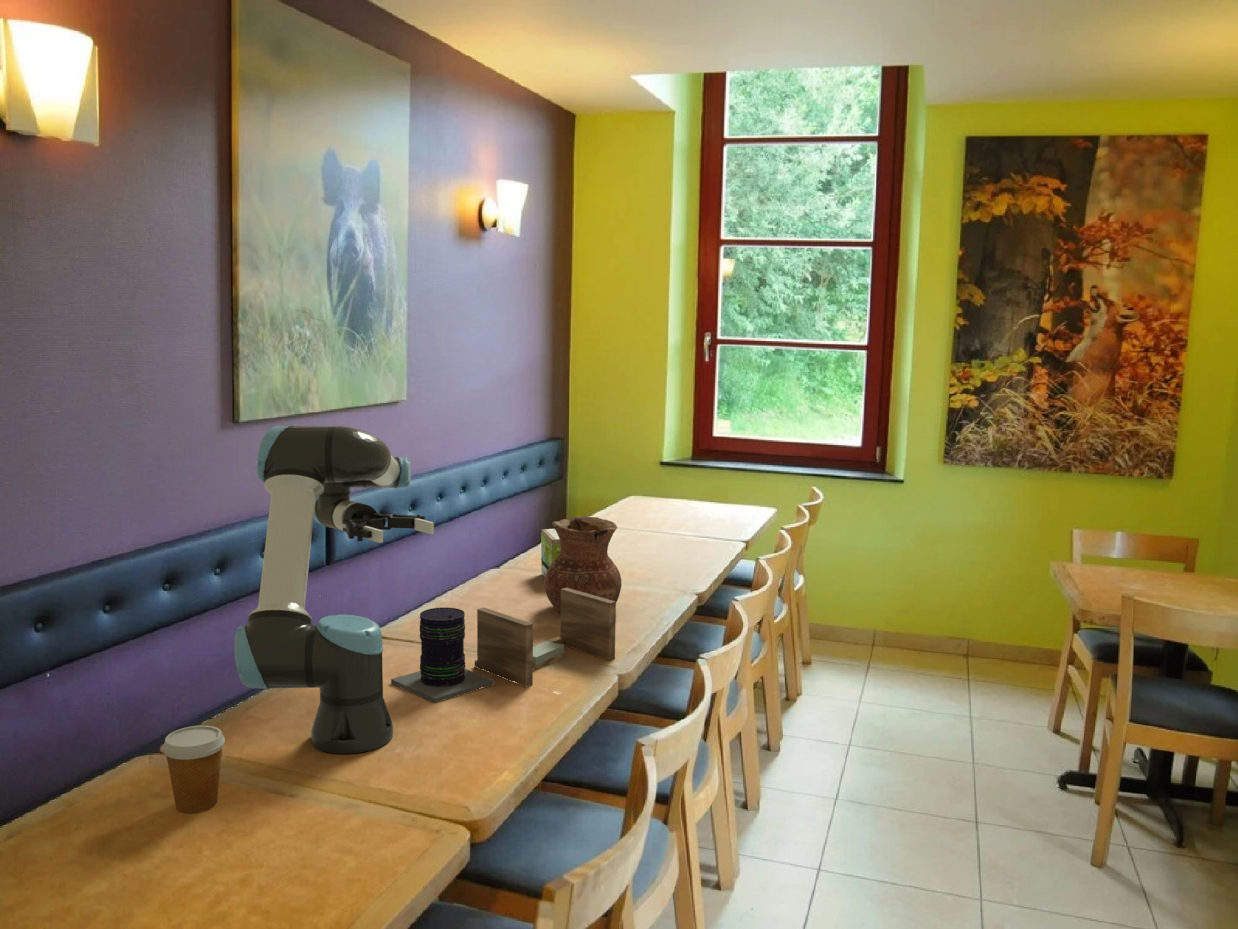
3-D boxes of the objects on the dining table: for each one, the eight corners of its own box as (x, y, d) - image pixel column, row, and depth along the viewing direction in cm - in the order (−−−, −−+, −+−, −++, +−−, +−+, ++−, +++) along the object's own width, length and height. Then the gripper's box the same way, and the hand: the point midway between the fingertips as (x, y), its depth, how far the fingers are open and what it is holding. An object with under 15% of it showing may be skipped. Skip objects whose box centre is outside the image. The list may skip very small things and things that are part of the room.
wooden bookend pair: (525, 687, 227) (526, 625, 225) (474, 667, 240) (474, 608, 238) (614, 658, 247) (615, 601, 245) (563, 641, 260) (564, 586, 258)
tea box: (540, 574, 325) (540, 528, 323) (571, 572, 328) (571, 526, 326) (551, 586, 311) (551, 538, 309) (583, 584, 314) (584, 536, 312)
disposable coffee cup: (205, 822, 165) (202, 750, 164) (152, 815, 167) (149, 744, 166) (238, 795, 175) (236, 727, 173) (188, 789, 177) (185, 722, 175)
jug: (632, 618, 280) (634, 527, 276) (558, 625, 272) (559, 532, 269) (603, 597, 300) (605, 512, 297) (534, 603, 293) (534, 516, 289)
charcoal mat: (434, 703, 217) (434, 698, 217) (391, 683, 228) (391, 679, 228) (494, 684, 229) (494, 680, 228) (450, 666, 239) (450, 662, 239)
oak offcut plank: (531, 673, 238) (531, 665, 238) (512, 667, 242) (513, 660, 242) (566, 660, 248) (566, 653, 247) (547, 655, 251) (547, 647, 251)
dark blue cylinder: (411, 678, 228) (410, 613, 226) (448, 668, 235) (447, 604, 233) (437, 690, 221) (436, 623, 219) (474, 680, 228) (474, 614, 226)
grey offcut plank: (536, 664, 239) (536, 657, 238) (518, 660, 241) (518, 653, 241) (563, 652, 248) (564, 645, 248) (546, 648, 251) (546, 641, 250)
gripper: (400, 526, 256) (452, 540, 242) (308, 541, 239) (359, 557, 224) (400, 496, 255) (452, 509, 241) (308, 509, 238) (358, 523, 223)
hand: (407, 532), depth 232 cm, fingers open, 13 cm apart
